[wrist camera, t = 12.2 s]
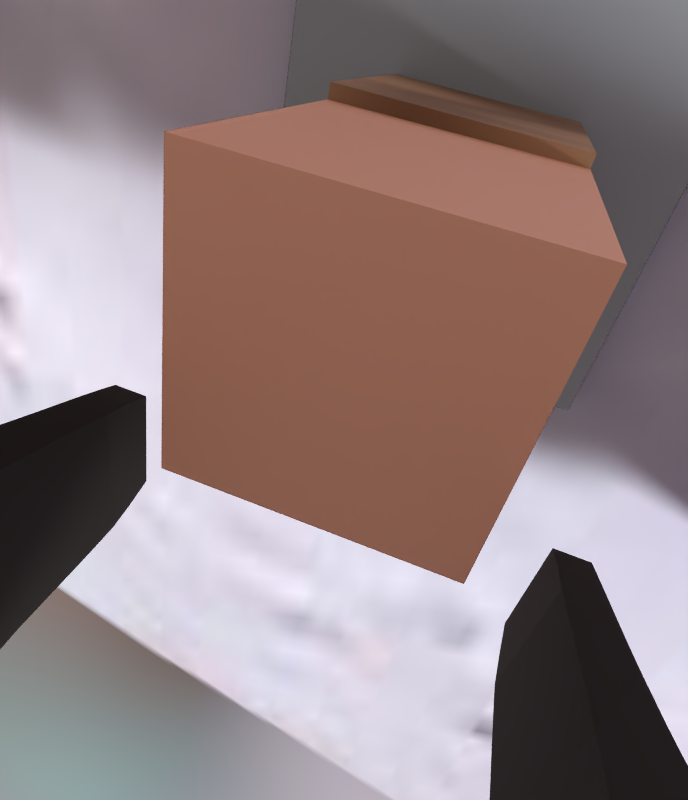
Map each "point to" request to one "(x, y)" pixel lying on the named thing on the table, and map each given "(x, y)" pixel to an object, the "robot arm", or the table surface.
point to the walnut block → (468, 116)
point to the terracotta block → (372, 319)
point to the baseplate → (535, 90)
